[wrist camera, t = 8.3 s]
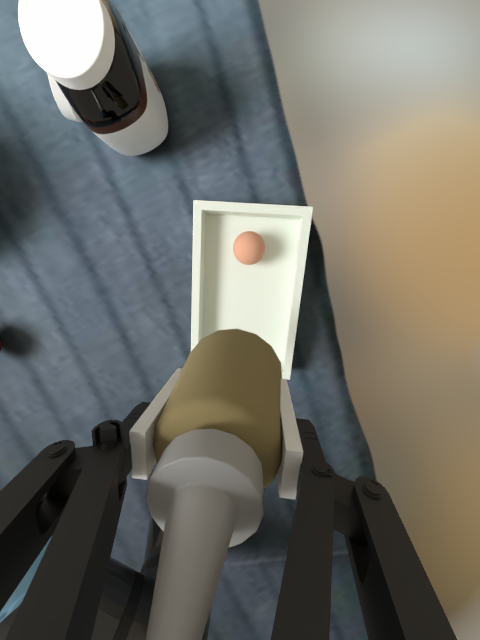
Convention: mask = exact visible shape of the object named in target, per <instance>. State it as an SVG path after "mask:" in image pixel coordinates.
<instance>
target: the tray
mask: <svg viewBox="0 0 480 640" xmlns="http://www.w3.org/2000/svg"><path fill="white" fill-rule="evenodd" d="M312 211H313V207H307V206H289V205H271V204H252V203H234V202H216V201H198V200H193V258H192V318H191V351H192V350H193V349H194V348H195V346H196V345H197V344H198V342H199V341H200V340H201V339H202V338H204V337H206V336H208V335H210V334H212V333H214V332H216V331H218V330H227V329H240V330H244V331H247V332H251V333H254V334H257V335H258V336H259V337H261V338H262V339H263V340H264V341H266V342H267V343H268V344H269V345H271V346H272V348H273V349H274V351H275V353H276V355H277V357H278V358H279V360H280V362H281V371H282V379H289V380H290V374H291V367H292V359H293V352H294V345H295V337H296V330H297V322H298V315H299V308H300V300H301V293H302V285H303V278H304V271H305V263H306V256H307V248H308V241H309V234H310V226H311V219H312ZM246 231H253V232H256V233H258V234H259V235H260V236H261V237H262V238H263V240H264V242H265V253H264V256H263V258H262V259H261V260H260V261H259V262H257V263H256V264H253V265H245V264H242V263H241V262H239V261H238V260H237V259H236V257H235V255H234V252H233V244H234V241H235V239H236V238H237V236H238V235H240V234H241V233H243V232H246Z"/></svg>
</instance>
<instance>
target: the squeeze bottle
mask: <svg viewBox="0 0 480 640" xmlns="http://www.w3.org/2000/svg"><path fill="white" fill-rule="evenodd" d="M281 379H282V371H281V362H280V360H279V358H278V357H277V355H276V353H275V351H274V349H273V348H272V346H271V345H269V344H268V343H267V342H266V341H264V340H263V339H262V338H261V337H259V336H258V335H257V334H254V333H251V332H247V331H244V330H240V329H227V330H218V331H216V332H214V333H212V334H210V335H208V336H206V337H204V338H202V339H201V340H200V341H199V342H198V344H197V345H196V346H195V348H194V349H193V350H192V351H191V353H190V354H189V357H188V359H187V361H186V363H185V365H184V367H183V369H182V371H181V373H180V376H179V378H178V380H177V382H176V384H175V386H174V388H173V390H172V392H171V395H170V397H169V399H168V401H167V403H166V405H165V407H164V409H163V411H162V414H161V416H160V418H159V420H158V422H157V425H156V430H155V434H154V439H153V448H154V452H155V456H156V460H157V466H156V468H155V470H154V472H153V474H152V476H151V478H150V480H149V485H148V489H147V493H146V499H147V503H148V506H149V510H150V514H151V516H152V518H153V519H154V520H155V521H156V523H157V524H158V525H159V527H160V528H161V529H162V530H163V531H164V534H163V540H162V546H161V552H160V558H159V564H158V570H157V576H156V582H155V588H154V594H153V600H152V606H151V612H150V618H149V624H148V630H147V636H146V640H202V637H203V633H204V630H205V626H206V623H207V620H208V616H209V613H210V609H211V606H212V602H213V599H214V596H215V592H216V589H217V585H218V582H219V578H220V575H221V572H222V568H223V565H224V561H225V558H226V554H227V551H228V548H229V547H232V546H235V545H238V544H241V543H243V542H244V541H245V540H246V539H247V538H249V537H250V536H251V535H252V534H253V533H255V532H256V531H257V529H258V527H259V524H260V522H261V520H262V517H263V515H264V489H265V488H266V487H267V486H268V485H269V484H270V483H271V482H272V481H274V479H275V476H276V474H277V471H278V469H279V466H280V464H281V460H282V455H281V418H280V396H281Z"/></svg>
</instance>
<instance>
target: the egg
mask: <svg viewBox="0 0 480 640" xmlns="http://www.w3.org/2000/svg"><path fill="white" fill-rule="evenodd" d="M233 252H234V255H235V257H236V259H237V260H238V261H239V262H241V263H242V264H245V265H253V264H256V263H257V262H259V261H260V260H261V259H262V258H263V256H264V253H265V242H264V240H263V238H262V237H261V236H260V235H259V234H258V233H256V232H253V231H246V232H243V233H241V234H240V235H238V236H237V238H236V239H235V241H234V244H233Z"/></svg>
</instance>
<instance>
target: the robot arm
mask: <svg viewBox="0 0 480 640" xmlns="http://www.w3.org/2000/svg"><path fill="white" fill-rule="evenodd" d="M181 371H182V369H180V368H177V370H176V371H175V372H174V374H173V375H172V376H171V378H170V379H169V380H168V382H167V383H166V384H165V385H164V387H163V388H162V389H161V391H160V392H159V393H158V395H157V396H156V397H155V398H154V400H153V401H152V402H151V403H149V402H142V403H140V404H139V405H137V406H136V407H135V408H134V409H133V410H132V411H131V412H130V413H129V415H128V416H127V417H126V418H125V419H124V420H123V422H121V421H118V420H109V421H105V422H102V423H100V424H98V425H97V426H96V427H94V429H93V430H92V439H93V446H89V447H81V448H75V443H74V442H73V441H70V440H63V441H59V442H55V443H53V444H51V445H49V446H47V447H46V448H45V449H44V450H42V451H41V452H40V453H39V454H38V455H37V456H36V457H35V458H34V459H33V460H32V461H31V462H30V463H29V464H28V465H27V466H26V467H25V468H24V469H23V470H22V471H21V472H20V473H19V474H18V475H17V476H16V477H14V478H13V479H12V480H11V481H10V482H9V483H8V484H7V485H6V486H5V487H4V488H3V489H2V490H1V491H0V640H146V636H147V630H148V624H149V618H150V612H151V606H152V600H153V594H154V588H155V582H156V576H157V570H158V564H159V558H160V552H161V546H162V540H163V534H164V531H163V530H162V529H161V528H160V527H159V525H158V524H157V523H156V521H155V520H154V519H153V518H152V516H151V519H150V523H149V529H148V537H147V545H146V552H145V560H144V564H143V566H142V569H141V572H140V573H139V572H137V571H135V570H134V569H132V568H130V567H128V566H127V565H125V564H123V563H121V562H119V561H117V560H115V559H114V558H112V557H110V556H111V551H112V547H113V543H114V538H115V534H116V530H117V525H118V521H119V517H120V512H121V508H122V504H123V499H124V495H125V491H126V486H127V475H128V474H129V472H130V471H131V469H132V478H138V479H145V480H147V479H148V477H149V475H150V473H151V471H152V469H153V467H154V465H155V463H156V461H157V460H156V456H155V452H154V448H153V439H154V434H155V430H156V425H157V422H158V420H159V418H160V416H161V414H162V411H163V409H164V407H165V405H166V403H167V401H168V399H169V397H170V395H171V392H172V390H173V388H174V386H175V384H176V382H177V380H178V378H179V376H180V373H181ZM280 418H281V455H282V460H281V464H280V466H279V469H278V471H277V475H278V487H279V497H280V498H288V499H296V493H297V495H298V502H297V507H296V512H295V517H294V522H293V527H292V532H291V538H290V543H289V548H288V553H287V558H286V563H285V569H284V574H283V579H282V584H281V589H280V594H279V600H278V605H277V610H276V615H275V620H274V625H273V630H272V636H271V640H329V631H330V604H331V576H332V549H333V529H334V530H336V531H338V532H340V533H342V534H344V536H345V540H346V545H347V549H348V553H349V557H350V562H351V566H352V570H353V575H354V579H355V583H356V588H357V592H358V596H359V600H360V605H361V609H362V613H363V618H364V622H365V626H366V631H367V635H368V639H369V640H457V639H456V636H455V634H454V632H453V630H452V628H451V626H450V623H449V621H448V619H447V617H446V615H445V613H444V611H443V608H442V606H441V604H440V602H439V600H438V598H437V596H436V594H435V591H434V589H433V587H432V585H431V583H430V581H429V579H428V576H427V574H426V572H425V570H424V568H423V566H422V564H421V561H420V560H419V557H418V555H417V553H416V551H415V549H414V547H413V544H412V542H411V541H410V538H409V536H408V534H407V532H406V529H405V527H404V525H403V523H402V521H401V519H400V517H399V515H398V512H397V510H396V508H395V506H394V504H393V502H392V499H391V497H390V495H389V493H388V492H387V490H386V489H385V488H384V487H383V486H382V485H381V484H380V483H379V482H377V481H376V480H374V479H372V478H369V477H362V476H361V477H358V478H356V480H355V482H353V481H350V480H348V479H345V478H343V477H341V476H339V475H337V474H336V473H334V470H333V468H332V467H331V466H330V465H329V464H328V463H327V462H326V460H325V457H324V454H323V451H322V448H321V445H320V442H319V440H318V436H317V434H316V430H315V427H314V426H313V424H312V423H311V422H310V421H309V420H306V419H297V418H295V414H294V410H293V405H292V401H291V397H290V392H289V388H288V384H287V379H281V396H280ZM210 614H211V609H210V613H209V616H208V620H207V623H206V626H205V630H204V633H203V637H202V640H207V637H208V629H209V622H210Z"/></svg>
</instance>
